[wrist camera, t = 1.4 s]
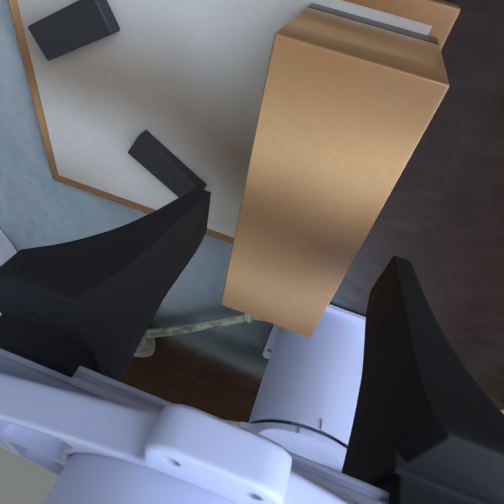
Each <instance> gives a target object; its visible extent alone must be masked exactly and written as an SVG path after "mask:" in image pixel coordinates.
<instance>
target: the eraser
mask: <svg viewBox="0 0 504 504" xmlns="http://www.w3.org/2000/svg"><path fill="white" fill-rule="evenodd" d="M448 88H449V81H448V77H447V73H446V69H445V65H444V61H443V57H442V53H441V49H440V46H439V42H438V39H437V38H434V37H431V36H427V35H424V34H420V33H417V32H413V31H410V30H406V29H403V28H399V27H396V26H392V25H389V24H385V23H382V22H378V21H375V20H371V19H368V18H364V17H361V16H357V15H354V14H350V13H347V12H343V11H340V10H336V9H333V8H329V7H326V6H322V5H319V4H315V3H311V4H310V5H308V6H307V7H306V8H305V9H304V10H302V11H301V12H300V13H299V14H298V15H297V16H295V17H294V18H293V19H292V20H291V21H289V22H288V23H287V24H286V25H285V26H284V27H282V28H281V29H280V30H279V31H278V32H277V33H275V35H274V40H273V45H272V50H271V55H270V60H269V65H268V70H267V75H266V80H265V85H264V90H263V95H262V100H261V105H260V110H259V115H258V120H257V125H256V130H255V135H254V141H253V146H252V151H251V156H250V161H249V166H248V171H247V176H246V181H245V186H244V191H243V196H242V201H241V206H240V211H239V216H238V221H237V226H236V231H235V236H234V241H233V246H232V251H231V257H230V262H229V267H228V272H227V277H226V282H225V287H224V292H223V297H222V302H221V304H222V305H224V306H226V307H229V308H232V309H234V310H237V311H240V312H242V313H245V314H248V315H250V316H253V317H255V318H258V319H261V320H263V321H266V322H269V323H271V324H274V325H277V326H279V327H282V328H285V329H287V330H290V331H293V332H295V333H298V334H301V335H303V336H306V337H308V338H310V337H311V336H312V334H313V332H314V330H315V328H316V327H317V325H318V323H319V321H320V319H321V318H322V316H323V314H324V312H325V310H326V309H327V307H328V305H329V303H330V301H331V300H332V298H333V296H334V294H335V292H336V291H337V289H338V287H339V285H340V283H341V281H342V280H343V278H344V276H345V274H346V272H347V271H348V269H349V267H350V265H351V263H352V262H353V260H354V258H355V256H356V254H357V253H358V251H359V249H360V247H361V245H362V244H363V242H364V240H365V238H366V236H367V235H368V233H369V231H370V229H371V227H372V226H373V224H374V222H375V220H376V218H377V217H378V215H379V213H380V211H381V209H382V208H383V206H384V204H385V202H386V200H387V198H388V197H389V195H390V193H391V191H392V189H393V188H394V186H395V184H396V182H397V180H398V179H399V177H400V175H401V173H402V171H403V170H404V168H405V166H406V164H407V162H408V161H409V159H410V157H411V155H412V153H413V152H414V150H415V148H416V146H417V144H418V143H419V141H420V139H421V137H422V135H423V134H424V132H425V130H426V128H427V126H428V125H429V123H430V121H431V119H432V117H433V115H434V114H435V112H436V110H437V108H438V106H439V105H440V103H441V101H442V99H443V97H444V96H445V94H446V92H447V90H448Z"/></svg>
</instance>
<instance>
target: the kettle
mask: <svg viewBox="0 0 504 504" xmlns="http://www.w3.org/2000/svg"><path fill="white" fill-rule="evenodd" d="M16 253H17V251H16V249H15V248H14V246H13V245H12V243H11V242H10V241H9V239H8V238H7V236H6V235H5V234H4V233H3V231H2V230H1V229H0V266H2V265H3V264H4V263H5V262H6V261H7V260H9V259H10V258H11V257H12V256H13V255H15V254H16ZM1 315H2V314H1V312H0V316H1Z"/></svg>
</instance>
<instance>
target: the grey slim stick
mask: <svg viewBox="0 0 504 504" xmlns="http://www.w3.org/2000/svg"><path fill="white" fill-rule="evenodd" d="M252 320H256V321H261V319H258V318H255V317H253V316H250V315H248V314H245V313H244V314H243V315H238V316H232V317H227V318H221V319H215V320H209V321H203V322H198V323H193V324H187V325H182V326H175V327H165V328H153V329H148V328H147V330H146V332H145V334H144V336H143V338H142V340H141V342H140V344H139V346H138V348H137V350H136V352H135V354H134V356H138V357H148V356H151V355H152V354H153V352H154V349H155V337H164V336H172V335H179V334H185V333H190V332H196V331H201V330H206V329H210V328H216V327H221V326H227V325H232V324H237V323H241V322H246V323H247V324H249V323H251V321H252Z"/></svg>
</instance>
